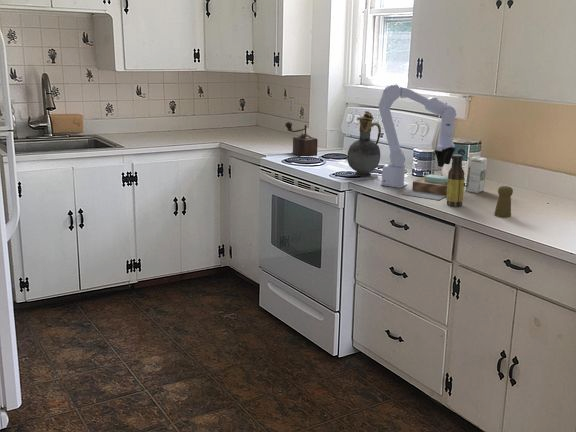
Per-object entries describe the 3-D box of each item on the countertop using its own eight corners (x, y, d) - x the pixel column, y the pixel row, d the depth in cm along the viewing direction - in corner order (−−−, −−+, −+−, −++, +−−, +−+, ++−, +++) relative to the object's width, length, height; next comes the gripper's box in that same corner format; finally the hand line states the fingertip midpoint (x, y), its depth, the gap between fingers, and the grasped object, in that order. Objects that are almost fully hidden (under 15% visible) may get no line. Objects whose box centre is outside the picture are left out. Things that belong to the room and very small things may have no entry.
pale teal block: (424, 181, 273) (424, 176, 272) (429, 178, 278) (429, 174, 277) (444, 183, 268) (444, 179, 268) (449, 181, 273) (449, 176, 273)
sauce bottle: (458, 202, 254) (462, 153, 248) (465, 206, 248) (469, 156, 242) (442, 203, 252) (447, 153, 247) (449, 207, 246) (454, 156, 241)
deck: (412, 190, 273) (412, 181, 272) (422, 185, 282) (423, 176, 281) (446, 195, 265) (446, 186, 264) (455, 190, 274) (456, 181, 273)
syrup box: (471, 189, 278) (474, 156, 274) (484, 191, 274) (487, 157, 270) (465, 191, 274) (468, 157, 270) (478, 193, 270) (482, 159, 266)
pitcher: (343, 175, 300) (345, 111, 292) (369, 170, 313) (372, 109, 305) (360, 179, 293) (364, 113, 285) (386, 174, 305) (390, 111, 297)
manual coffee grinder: (307, 152, 360) (308, 120, 355) (317, 155, 351) (318, 122, 346) (283, 154, 353) (283, 121, 348) (292, 157, 344) (293, 124, 339)
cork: (491, 215, 236) (494, 186, 233) (499, 212, 240) (502, 184, 237) (506, 218, 232) (509, 189, 229) (514, 215, 236) (517, 186, 233)
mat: (402, 194, 265) (402, 194, 265) (410, 190, 273) (410, 190, 272) (438, 200, 257) (438, 199, 257) (446, 196, 264) (446, 195, 264)
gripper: (449, 136, 265) (446, 169, 269) (461, 133, 277) (458, 163, 281) (433, 135, 269) (430, 166, 273) (445, 131, 281) (443, 162, 284)
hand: (443, 165), depth 277 cm, fingers open, 7 cm apart
